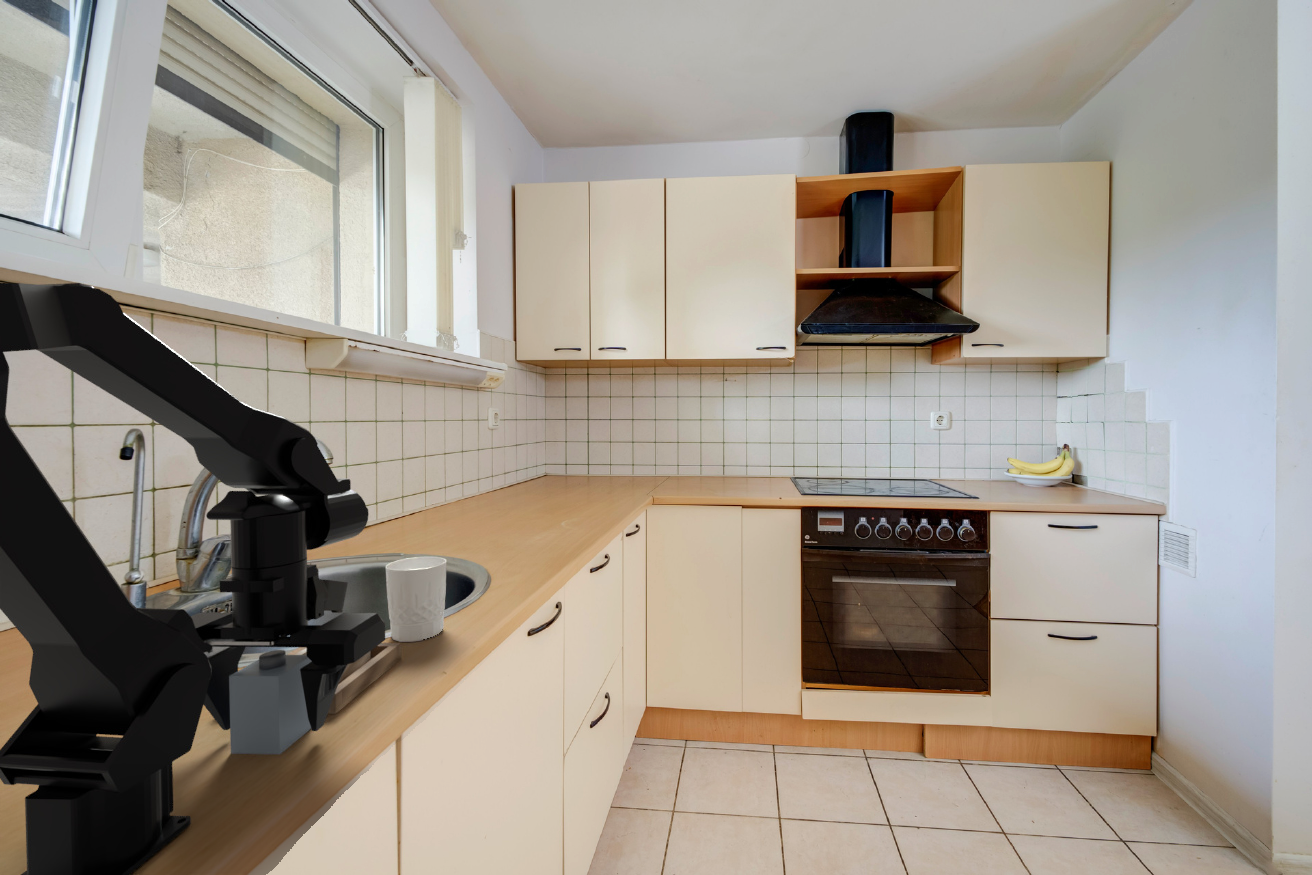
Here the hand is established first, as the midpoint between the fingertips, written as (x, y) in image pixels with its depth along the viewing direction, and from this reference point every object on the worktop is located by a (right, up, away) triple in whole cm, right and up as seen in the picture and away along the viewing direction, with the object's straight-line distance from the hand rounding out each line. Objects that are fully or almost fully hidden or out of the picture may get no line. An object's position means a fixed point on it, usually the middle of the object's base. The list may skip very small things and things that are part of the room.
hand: (273, 728), depth 50 cm
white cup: (+2, -1, +26) cm, 26 cm away
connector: (0, -1, 0) cm, 1 cm away
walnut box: (-3, -1, +11) cm, 11 cm away
